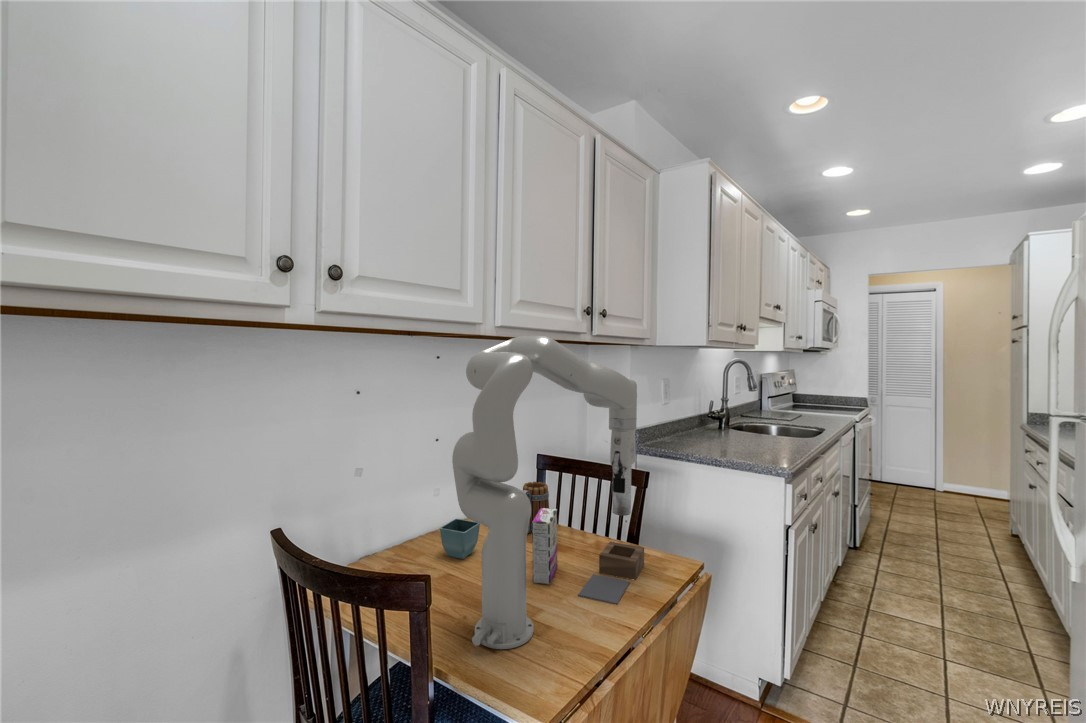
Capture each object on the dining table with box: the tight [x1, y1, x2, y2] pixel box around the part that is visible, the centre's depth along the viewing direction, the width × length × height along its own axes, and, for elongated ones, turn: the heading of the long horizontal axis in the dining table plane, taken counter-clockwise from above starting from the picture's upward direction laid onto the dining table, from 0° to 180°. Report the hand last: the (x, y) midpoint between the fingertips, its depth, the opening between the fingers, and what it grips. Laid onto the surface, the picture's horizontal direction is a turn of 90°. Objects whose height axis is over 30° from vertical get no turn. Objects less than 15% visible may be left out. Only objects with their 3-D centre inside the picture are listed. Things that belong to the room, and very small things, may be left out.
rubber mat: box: [577, 573, 631, 606], centre depth 122 cm, size 12×10×1 cm
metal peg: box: [611, 462, 632, 517], centre depth 133 cm, size 5×5×14 cm
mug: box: [522, 481, 550, 534], centre depth 162 cm, size 16×11×15 cm
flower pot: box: [439, 518, 481, 560], centre depth 143 cm, size 9×9×9 cm
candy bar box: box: [531, 507, 558, 585], centre depth 130 cm, size 11×5×16 cm, turn 168°
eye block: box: [598, 541, 645, 581], centre depth 134 cm, size 10×10×5 cm
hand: (621, 489), depth 133 cm, fingers closed on metal peg, 5 cm apart
